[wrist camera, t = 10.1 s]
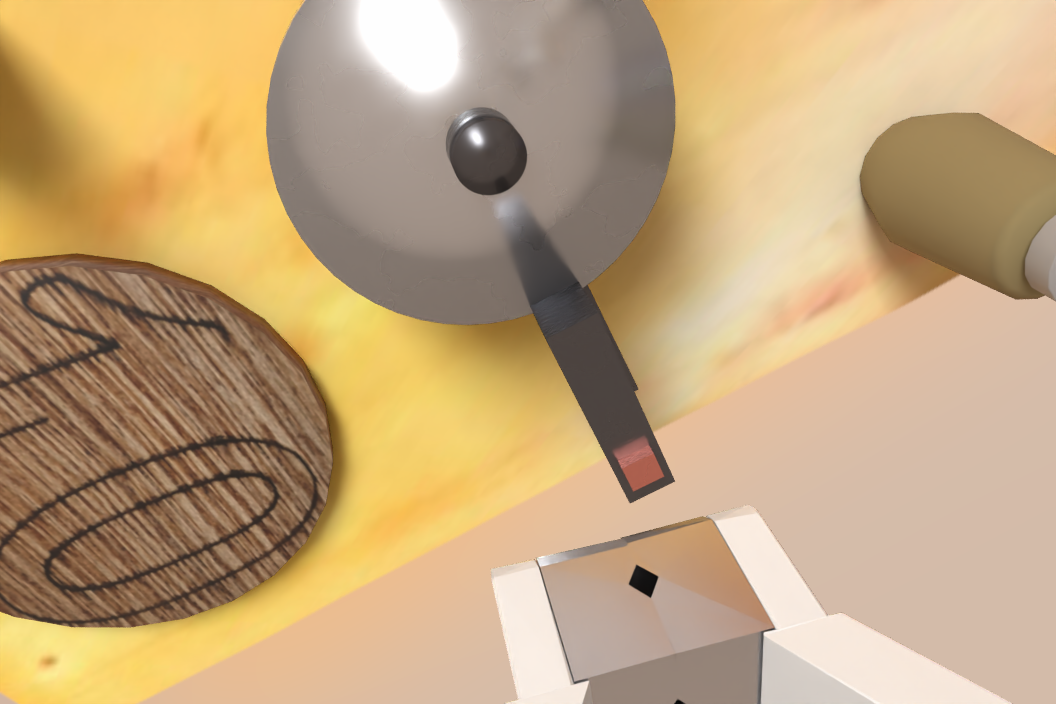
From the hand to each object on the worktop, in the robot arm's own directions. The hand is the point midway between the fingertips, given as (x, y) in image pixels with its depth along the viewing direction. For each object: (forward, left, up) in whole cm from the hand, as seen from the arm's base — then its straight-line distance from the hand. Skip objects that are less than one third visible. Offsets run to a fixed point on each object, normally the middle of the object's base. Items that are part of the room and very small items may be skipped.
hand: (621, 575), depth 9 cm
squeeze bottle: (-23, +20, -36) cm, 47 cm away
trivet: (+26, +12, -36) cm, 46 cm away
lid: (-1, +8, -26) cm, 27 cm away
